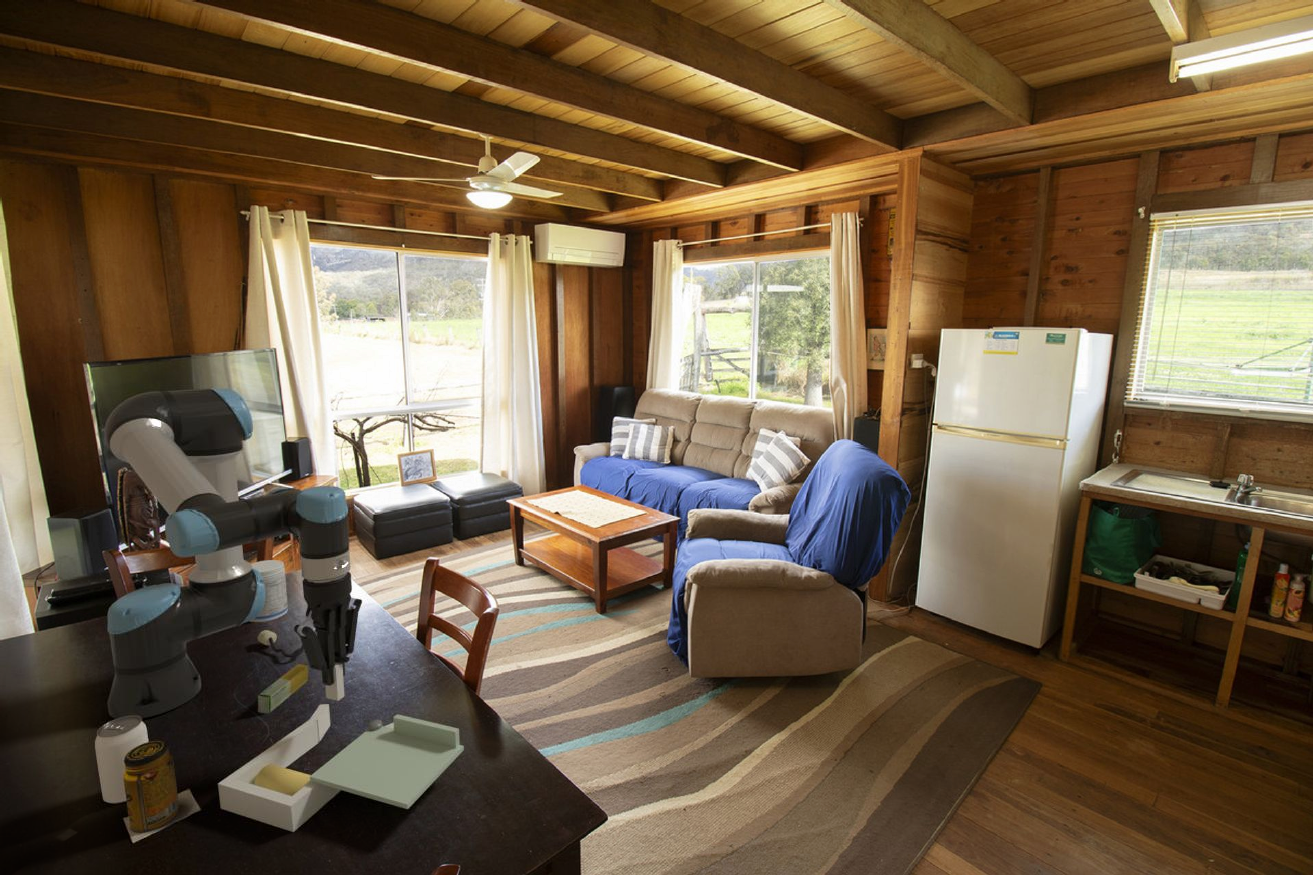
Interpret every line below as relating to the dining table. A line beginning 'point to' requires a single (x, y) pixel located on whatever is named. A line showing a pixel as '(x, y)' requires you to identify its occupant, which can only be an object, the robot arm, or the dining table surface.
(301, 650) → the cable
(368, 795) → the cover
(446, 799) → the dining table surface
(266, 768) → the yellow cardboard tube
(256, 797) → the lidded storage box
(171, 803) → the condiment
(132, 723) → the can
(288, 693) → the medication box
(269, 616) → the supplement tub
